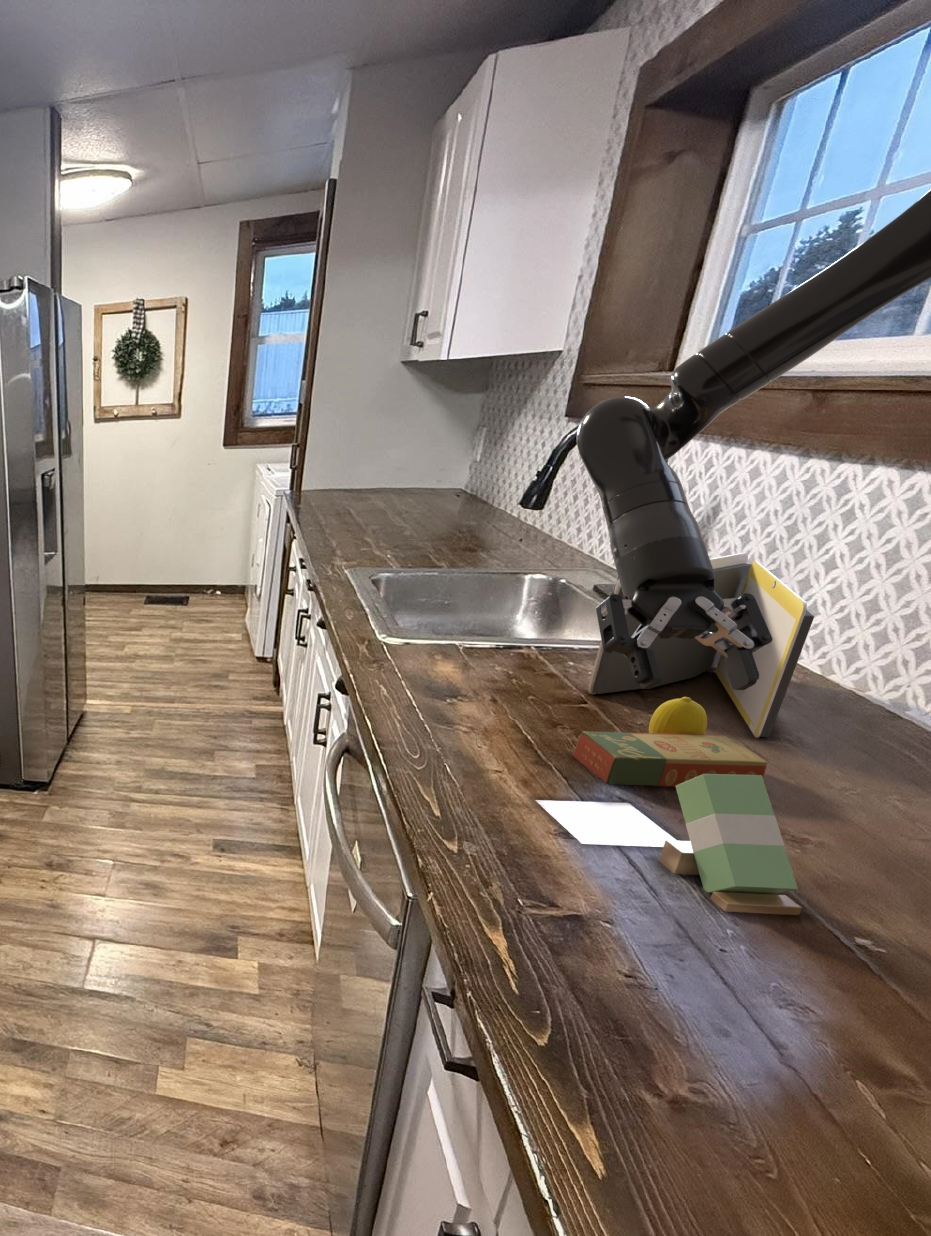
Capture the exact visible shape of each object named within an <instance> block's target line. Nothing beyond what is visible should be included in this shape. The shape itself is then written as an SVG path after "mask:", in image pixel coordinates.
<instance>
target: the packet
mask: <svg viewBox="0 0 931 1236" xmlns="http://www.w3.org/2000/svg"><path fill="white" fill-rule="evenodd" d="M675 790H676V793H677V797H678V800H679V804H680V808H681V811H682V815H683V819H684V823H685V828H686V831H687V834H688V838H689V841H690V842H691V846H692V849H693V853H694V856H695V859H696V863H697V867H698V870H699V874H700V875H699V878H700V881H701V885H702V889H703V890H704V891H705V892H707V894H708V893H709V894H712V893H713V892H731V893H752V894H773V895H778V894H782V893H786V892H792V891H797V890H798V889H799V888H798V884H797V880H796V878H795V875H794V871H793V869H792V866H791V865H792V864H791V863H790V860H789V859H790V858H789V856H788V853H787V849H786V847H785V843H784V839H783V836H782V834H781V830H780V826H779V823H778V820H777V818H776V815H775V812H774V809H773V806H772V803H771V799H770V797H769V793H768V790H767V787H766V783H765V780H764V776H763V777H762V775H730V774H702V775H700V776H697V777H695V778H693V779H690V780H688V781H686V782H683V783H681V784H679V785H676V787H675Z"/></svg>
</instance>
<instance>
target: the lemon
mask: <svg viewBox="0 0 931 1236" xmlns="http://www.w3.org/2000/svg"><path fill="white" fill-rule="evenodd" d="M707 728H708V715H707V712H706V710H705V708H704V707H703V706H702V705H701V704H699V703H698V702H696V701H695V700H692V698H691V697H688V696H683V697H681V698H673V699H670V700H667V701H665V702H663V703H661V704H660V705H659V706H658V707H657V708H656V709H655V711H654V712H653V713H652V716H651V718H650V721H649V724H648V733H661V734H706V731H707Z"/></svg>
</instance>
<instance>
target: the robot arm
mask: <svg viewBox="0 0 931 1236" xmlns="http://www.w3.org/2000/svg"><path fill="white" fill-rule="evenodd" d="M928 280H931V189H930V190H928V191H927V192H926V193H925V194H924V195H923V196H921V197H920V198H918V200H917V201H915V202H914V203H913V204H911V205H910V206H909V207H908V208H906V209H905V210H904V211H903V212H902V213H901V214H899V215H898V216H897V217H895V218H894V219H893V220H892V221H890V222H889V223H887V224H886V225H885V226H884V227H882V228H880V230H879V231H877V232H875V233H874V234H873V235H871V236H870V237H869V238H867V239H866V240H865V241H864V242H862V243H861V244H859V245H857V247H855V248H853V249H852V250H850V251H849V252H848V253H846V254H845V255H844V256H842V257H841V258H840V259H838V260H837V261H835V262H834V263H832V264H831V265H829V266H827V267H826V268H825V269H823V270H821V271H820V272H819V273H817V274H815V275H814V276H812V277H811V278H809V279H808V280H806V281H805V282H803V283H801V284H800V285H798V286H797V287H795V288H794V289H792V290H791V291H789V292H788V293H785V295H783V296H781V297H780V298H778V299H776V300H775V301H773V302H772V303H770V304H769V305H767V306H765V307H763V308H762V309H761V310H759V311H758V312H756V313H755V314H753V315H752V316H750V317H749V318H747V319H746V320H744V321H742V322H741V323H740V324H738V325H736V326H735V327H733V328H732V329H730V330H729V331H727V332H726V333H724V334H723V335H721V336H720V337H717V339H715V340H714V341H712V342H711V343H710V344H708V345H707V346H705V347H703V348H702V349H700V350H699V351H698V352H697V353H694V354H693V355H691V356H690V357H688V358H687V359H686V360H684V361H683V362H682V363H680V364H679V365H678V366H677V367H676V368H675V369H674V370H672V373H671V375H670V387H671V390H670V392H669V393H668V394H667V395H666V396H665V398H663V399H662V400H661V401H660V402H659V403H658V404H657V405H656V406H654V407H653V408H652V409H651V407H649V406H648V404H647V403H645V402H643V400H641V399H638V398H636V397H631V396H614V397H610V398H607V399H604V400H603V401H600V402H599V403H597V404H595V405H594V406H592V407H591V408H590V409H589V410H588V411H587V412H586V414H585V415H584V416H583V417H582V418H581V420H580V422H579V425H578V427H577V431H576V446H577V451H578V453H579V456H580V459H581V460H582V463H583V465H584V468H585V470H586V472H587V473H588V476H589V478H590V480H591V482H592V483H593V485H594V487H595V489H596V491H597V493H598V495H599V498H600V501H601V506H602V511H603V515H604V519H605V522H606V526H607V529H608V534H609V545H610V551H611V554H612V555H611V556H612V558H613V562H614V565H615V568H616V574H617V577H618V579H619V581H620V584H621V588H622V592H623V595H624V598H625V599H622V597H621V596H620V595H618V594H614V593H612V594H610V595H609V596H608V597H606V598H605V599H604V600H603V601H602V602H601V603H599V604H598V605H597V606H596V607H595V612H596V617H597V623H598V627H599V633H600V634H599V635H600V641H601V640H602V645H603V649H604V651H606V652H608V653H613V652H618V653H622V654H623V655H624V656H625V657H627V658H628V661H629V665H630V669H631V672H632V676H633V679H634V681H635V682H636V683H639V685H640V688H642V689H641V690H645V689H648V690H650V689H653V688H655V687H654V686H656V685H657V684H659V683H660V682H661V675H660V671H659V668H658V664H657V661H656V657H655V654H654V650H653V649H648V647H649V646H650V645H651V644H652V642H653V641H654V639H655V638H656V636H659V638H660V639H669V638H674V637H678V638H683V639H693V638H695V639H697V640H698V641H699V642H700V643H702V644H703V645H705V646H712V647H713V648H714V649H716V650H717V651H718V652H720V653H721V654H722V655H723V656H725V657H726V658H725V659H724V663H725V667H726V670H727V673H728V676H729V679H730V682H731V685H732V688H733V689H734V690H745V689H747V688H749V687H751V686H753V685H754V684H755V683H756V681H757V680H758V679H759V672H758V670H757V666H756V663H755V660H754V657H753V654H752V653H753V652H755V651H756V650H758V649H760V648H761V647H763V646H765V645H767V644H769V643H770V642H772V636H771V634H770V632H769V629H768V627H767V625H766V622H765V620H764V618H763V615H762V613H761V611H760V608H759V606H758V604H757V601H756V599H755V597H754V596H753V595H752V594H749V593H745V594H743V595H741V596H740V597H738V598H731V599H722V598H721V597H720V596H719V595H718V594H717V593H716V592H715V590H714V581H715V574H714V571H713V568H712V565H711V562H710V559H711V558H710V555H709V553H708V549H707V546H706V544H705V540H704V537H703V535H702V532H701V529H700V525H699V523H698V522H697V519H696V518H695V516H694V515H693V512H692V511H691V508H690V505H689V502H688V499H687V496H686V492H685V490H684V487H683V485H682V482H681V480H680V478H679V476H678V474H677V473H676V472H675V470H674V469H673V467H672V466H671V465H669V463H668V462H667V461H668V460H669V459H671V458H672V457H673V456H674V455H676V454H677V453H678V452H680V451H681V450H682V449H683V448H684V447H685V446H686V445H687V444H689V443H690V442H691V441H692V440H693V439H694V438H695V437H696V436H698V435H699V434H700V433H702V432H703V430H705V429H706V428H707V427H708V426H709V425H710V424H711V423H712V422H713V421H714V420H716V418H717V417H719V415H721V414H722V413H723V412H725V411H726V410H727V409H729V408H730V407H733V406H734V405H736V404H738V403H739V402H740V401H743V400H744V399H746V398H748V397H750V396H751V395H752V394H754V393H755V392H757V391H759V390H760V389H762V388H763V387H765V386H767V385H768V384H770V383H772V382H774V381H775V380H777V379H778V378H780V377H781V376H783V375H785V374H787V373H788V372H789V371H791V370H793V369H794V368H796V367H797V366H799V365H800V364H802V363H803V362H804V361H806V360H807V359H809V358H811V357H812V356H813V355H815V354H816V353H818V352H819V351H821V350H822V349H824V348H825V347H826V346H828V345H830V344H831V343H833V342H834V341H835V340H836V339H838V338H839V337H842V335H844V334H846V332H848V331H849V330H851V329H853V328H854V327H856V326H857V325H858V324H859V323H861V322H863V321H864V320H865V319H867V318H869V317H870V316H871V315H873V314H875V313H876V312H877V311H879V310H880V309H882V308H884V307H885V306H887V305H888V304H890V303H891V302H893V301H894V300H897V299H898V298H899V297H901V296H903V295H904V294H906V293H907V292H910V291H911V290H913V289H915V288H916V287H918V286H920V285H921V284H923V283H925V282H926V281H928ZM722 612H723V613H724V614H725V615H724V614H723V613H722ZM627 613H628V614H629V615H630V616H631V617H633V618H634V619H635V620H636V621H637V622H639V623H640V625H639V627H638V628H637V630H636V631H635V632H634V634H633V635H632V637H631V638H630V637H629V632H628V627H627V622H626V616H625V615H626V614H627ZM712 624H714V625H716V626H717V627H718V631H716V632H714V633H711V632H709V631H707V630H708V629H709V628H710V627H711V626H712ZM751 631H752V633H753V636H754V637H753V636H752V633H751ZM723 637H725V638H727V639H728V640H729V641H731V642H732V643H733V645H731V644H730V643H729V642H727V641H726V640H725V639H723Z"/></svg>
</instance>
